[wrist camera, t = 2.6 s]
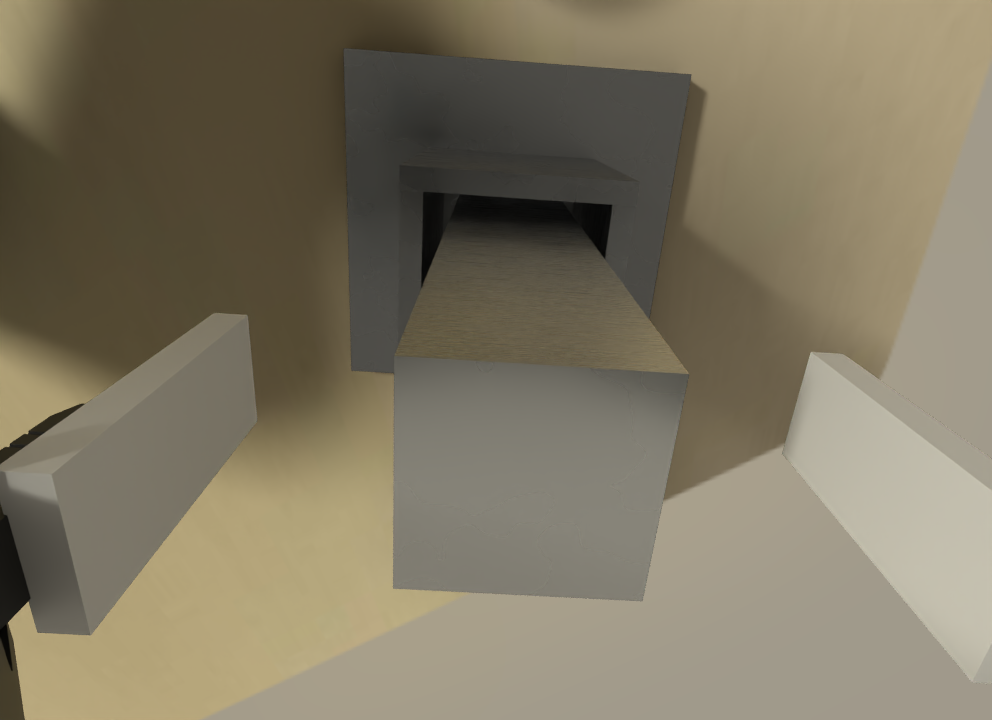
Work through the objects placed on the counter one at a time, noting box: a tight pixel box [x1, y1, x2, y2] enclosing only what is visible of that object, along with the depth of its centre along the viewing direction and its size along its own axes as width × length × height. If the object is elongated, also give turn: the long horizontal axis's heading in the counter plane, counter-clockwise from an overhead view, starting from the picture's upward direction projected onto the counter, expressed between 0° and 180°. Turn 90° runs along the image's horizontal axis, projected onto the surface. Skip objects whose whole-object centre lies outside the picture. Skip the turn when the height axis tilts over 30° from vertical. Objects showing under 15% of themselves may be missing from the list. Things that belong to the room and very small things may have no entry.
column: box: [393, 194, 689, 601], centre depth 21 cm, size 5×5×22 cm
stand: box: [344, 48, 691, 373], centre depth 27 cm, size 16×16×11 cm
